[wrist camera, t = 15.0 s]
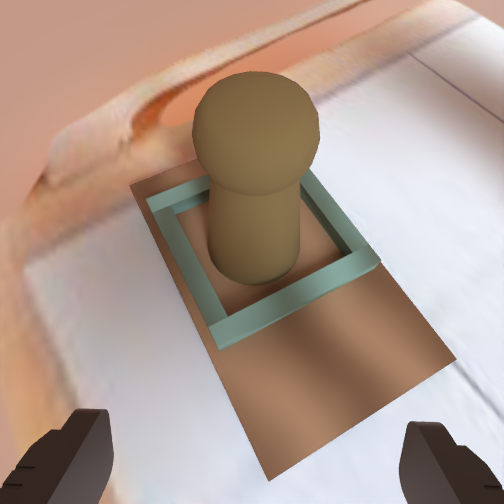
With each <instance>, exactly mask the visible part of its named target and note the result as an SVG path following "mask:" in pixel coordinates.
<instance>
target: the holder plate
mask: <svg viewBox="0 0 504 504" xmlns="http://www.w3.org/2000/svg"><path fill="white" fill-rule="evenodd" d="M130 188H131V190H132V192H133V195H134V197H135V199H136V201H137V203H138V205H139V207H140V209H141V212H142V214H143V216H144V218H145V220H146V222H147V224H148V226H149V229H150V231H151V233H152V235H153V237H154V239H155V241H156V243H157V246H158V248H159V250H160V252H161V254H162V256H163V258H164V260H165V263H166V265H167V267H168V269H169V271H170V273H171V275H172V277H173V280H174V282H175V284H176V286H177V288H178V290H179V292H180V294H181V297H182V299H183V301H184V303H185V305H186V307H187V309H188V311H189V314H190V316H191V318H192V320H193V322H194V324H195V326H196V328H197V331H198V333H199V335H200V337H201V339H202V341H203V343H204V345H205V348H206V350H207V352H208V354H209V356H210V358H211V360H212V362H213V365H214V367H215V369H216V371H217V373H218V375H219V377H220V379H221V382H222V384H223V386H224V388H225V390H226V392H227V394H228V396H229V399H230V401H231V403H232V405H233V407H234V409H235V411H236V413H237V416H238V418H239V420H240V422H241V424H242V426H243V428H244V430H245V433H246V435H247V437H248V439H249V441H250V443H251V445H252V447H253V450H254V452H255V454H256V456H257V458H258V460H259V462H260V464H261V467H262V469H263V471H264V473H265V475H266V477H267V479H268V481H271V480H272V479H274V478H275V477H277V476H278V475H280V474H281V473H283V472H284V471H286V470H288V469H289V468H291V467H292V466H294V465H295V464H297V463H298V462H300V461H301V460H303V459H304V458H306V457H307V456H309V455H311V454H312V453H314V452H315V451H317V450H318V449H320V448H321V447H323V446H324V445H326V444H327V443H329V442H331V441H332V440H334V439H335V438H337V437H338V436H340V435H341V434H343V433H344V432H346V431H347V430H349V429H350V428H352V427H354V426H355V425H357V424H358V423H360V422H361V421H363V420H364V419H366V418H367V417H369V416H370V415H372V414H374V413H375V412H377V411H378V410H380V409H381V408H383V407H384V406H386V405H387V404H389V403H390V402H392V401H393V400H395V399H397V398H398V397H400V396H401V395H403V394H404V393H406V392H407V391H409V390H410V389H412V388H413V387H415V386H417V385H418V384H420V383H421V382H423V381H424V380H426V379H427V378H429V377H430V376H432V375H433V374H435V373H436V372H438V371H440V370H441V369H443V368H444V367H446V366H447V365H449V364H450V363H452V362H453V361H455V360H456V357H455V356H454V355H453V354H452V352H451V351H450V350H449V349H448V347H447V346H446V345H445V343H444V342H443V341H442V340H441V338H440V337H439V336H438V334H437V333H436V332H435V331H434V329H433V328H432V327H431V326H430V324H429V323H428V322H427V320H426V319H425V318H424V317H423V315H422V314H421V313H420V312H419V310H418V309H417V308H416V306H415V305H414V304H413V303H412V301H411V300H410V299H409V297H408V296H407V295H406V294H405V292H404V291H403V290H402V289H401V287H400V286H399V285H398V283H397V282H396V281H395V280H394V278H393V277H392V276H391V275H390V273H389V272H388V271H387V269H386V268H385V267H384V266H383V264H382V263H381V262H380V261H381V259H380V258H379V256H378V255H377V254H376V253H375V251H374V250H373V249H372V248H371V246H370V245H369V244H368V242H367V241H366V240H365V239H364V237H363V236H362V235H361V234H360V232H359V231H358V230H357V229H356V227H355V226H354V225H353V223H352V222H351V221H350V220H349V218H348V217H347V216H346V215H345V213H344V212H343V211H342V209H341V208H340V207H339V206H338V204H337V203H336V202H335V201H334V199H333V198H332V197H331V195H330V194H329V193H328V192H327V190H326V189H325V188H324V187H323V185H322V184H321V183H320V181H319V180H318V179H317V178H316V176H315V175H314V174H313V173H312V171H311V170H310V169H308V170H307V172H306V173H305V174H304V175H303V176H302V177H301V178H300V252H299V255H298V258H297V261H296V263H295V265H294V266H293V267H292V268H291V270H290V271H289V272H288V273H287V274H286V275H285V276H283V277H281V278H280V279H278V280H277V281H275V282H272V283H268V284H264V285H260V286H259V285H243V284H240V283H237V282H234V281H232V280H229V279H228V278H227V277H225V276H224V275H223V274H221V273H220V272H219V271H218V270H217V268H216V267H215V266H214V264H213V263H212V261H211V259H210V255H209V251H208V247H207V246H208V221H209V195H210V176H209V175H208V174H207V173H206V171H205V170H204V169H203V167H202V165H201V164H200V162H199V160H198V159H196V160H194V161H191V162H189V163H186V164H184V165H181V166H179V167H176V168H173V169H171V170H168V171H166V172H163V173H161V174H158V175H156V176H153V177H151V178H148V179H146V180H143V181H140V182H138V183H135V184H133V185H130Z"/></svg>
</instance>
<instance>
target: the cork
mask: <svg viewBox="0 0 504 504" xmlns="http://www.w3.org/2000/svg"><path fill="white" fill-rule="evenodd" d="M192 138H193V142H194V146H195V150H196V154H197V157H198V160H199V162H200V164H201V165H202V167H203V169H204V170H205V171H206V173H207V174H208V175H209V176H210V195H209V221H208V246H207V247H208V251H209V255H210V259H211V261H212V263H213V264H214V266H215V267H216V268H217V270H218V271H219V272H220V273H221V274H223V275H224V276H225V277H227V278H228V279H229V280H232V281H234V282H237V283H240V284H243V285H259V286H260V285H264V284H268V283H272V282H275V281H277V280H278V279H280V278H281V277H283V276H285V275H286V274H287V273H288V272H289V271H290V270H291V268H292V267H293V266H294V265H295V263H296V261H297V258H298V255H299V252H300V178H301V177H302V176H303V175H304V174H305V173H306V172H307V170H308V169H309V167H310V166H311V164H312V162H313V159H314V157H315V154H316V151H317V149H318V145H319V141H320V131H319V118H318V112H317V110H316V108H315V107H314V105H313V103H312V101H311V99H310V97H309V95H308V93H307V92H306V91H305V90H304V89H303V88H302V87H301V86H299V85H298V84H297V83H296V82H294V81H292V80H290V79H288V78H286V77H284V76H281V75H277V74H273V73H269V72H244V73H239V74H233V75H231V76H229V77H226V78H224V79H222V80H219V81H218V82H217V83H215V84H214V85H213V86H212V87H210V88H209V89H208V90H207V92H206V94H205V95H204V96H203V98H202V100H201V101H200V103H199V105H198V106H197V108H196V110H195V116H194V122H193V129H192Z"/></svg>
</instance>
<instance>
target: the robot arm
mask: <svg viewBox="0 0 504 504" xmlns="http://www.w3.org/2000/svg"><path fill="white" fill-rule="evenodd" d="M113 458H114V452H113V444H112V435H111V427H110V419H109V413H108V411H107V410H106V409H80V408H78V409H76V410H75V411H74V412H73V413H72V414H71V416H70V417H69V418H68V420H67V421H66V423H65V424H64V426H63V427H62V429H61V430H52V429H51V430H50V431H49V432H48V433H47V434H45V435H44V436H43V437H42V438H40V439H39V440H38V441H37V442H35V443H34V444H33V445H32V446H31V447H30V448H29V449H28V451H27V452H26V453H25V455H24V456H23V457H22V459H21V460H20V461H19V463H18V464H17V465H16V468H15V470H13V471H12V472H11V473H10V475H9V476H8V477H7V479H6V480H5V481H4V483H3V486H2V488H0V504H98V503H99V500H100V498H101V496H102V494H103V491H104V489H105V487H106V485H107V482H108V480H109V477H110V474H111V471H112V466H113ZM399 477H400V483H401V487H402V491H403V493H404V496H405V498H406V501H407V503H408V504H504V490H503V489H502V485H501V484H500V482H499V481H498V479H497V478H496V477H495V475H494V474H493V472H492V471H491V469H490V468H489V467H488V465H487V464H486V463H485V462H484V461H483V460H481V459H480V458H479V457H478V456H477V455H476V454H475V453H473V452H472V451H471V450H470V449H469V448H468V447H467V446H461V445H457V444H456V443H455V441H454V440H453V438H452V437H451V435H450V434H449V432H448V431H447V429H446V428H445V426H444V425H443V424H441V423H439V422H415V421H410V422H409V423H408V425H407V428H406V433H405V438H404V443H403V448H402V453H401V458H400V463H399Z"/></svg>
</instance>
